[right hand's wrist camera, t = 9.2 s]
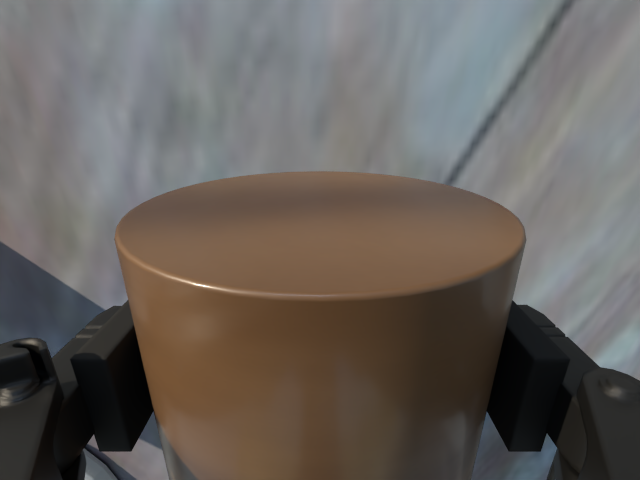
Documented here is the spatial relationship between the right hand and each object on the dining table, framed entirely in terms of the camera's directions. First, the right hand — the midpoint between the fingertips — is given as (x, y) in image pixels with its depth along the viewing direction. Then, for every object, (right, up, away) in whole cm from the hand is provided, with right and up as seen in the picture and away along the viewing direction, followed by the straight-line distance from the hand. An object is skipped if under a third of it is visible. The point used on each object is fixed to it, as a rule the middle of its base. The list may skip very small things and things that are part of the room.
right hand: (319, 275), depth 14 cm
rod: (0, -9, +4) cm, 9 cm away
